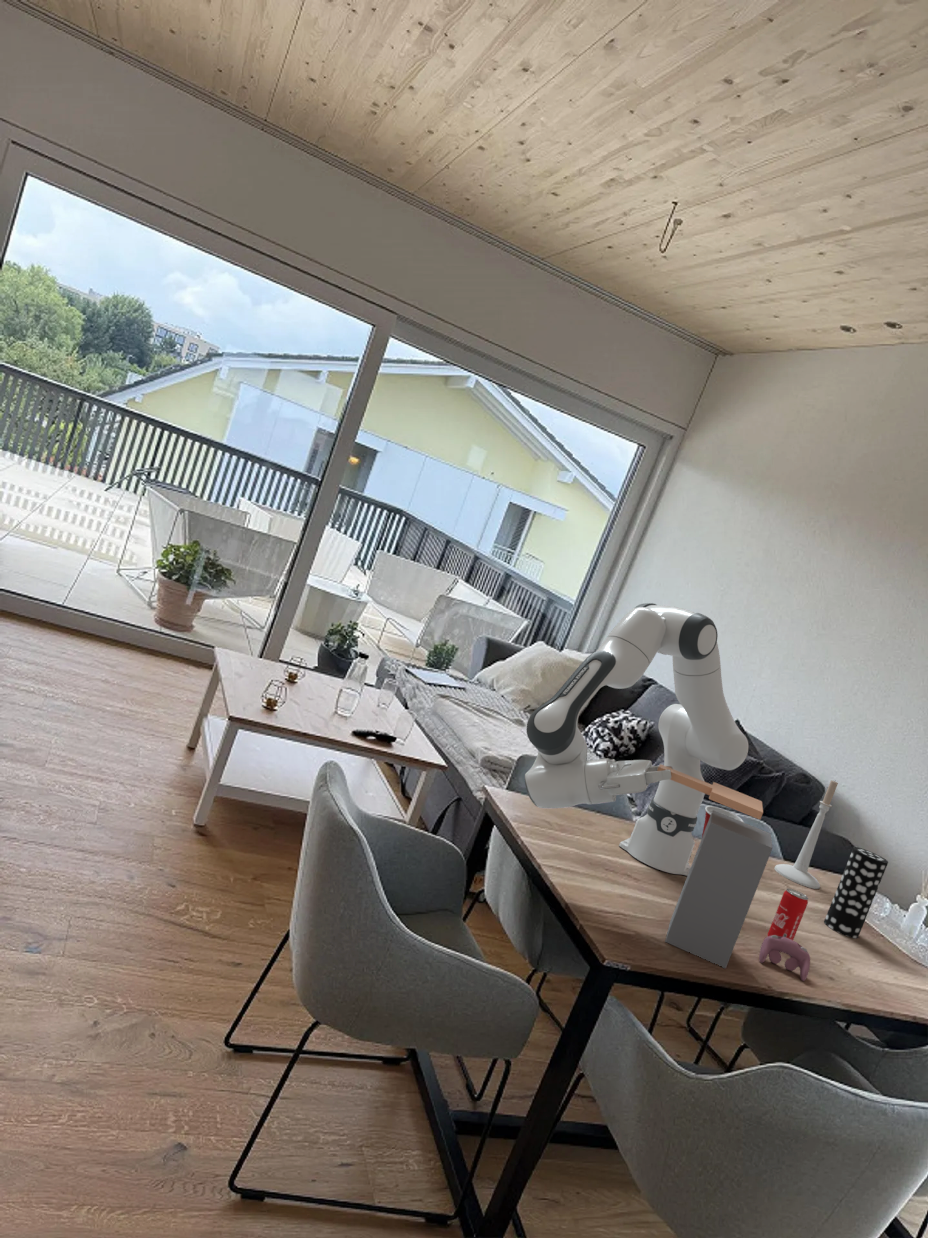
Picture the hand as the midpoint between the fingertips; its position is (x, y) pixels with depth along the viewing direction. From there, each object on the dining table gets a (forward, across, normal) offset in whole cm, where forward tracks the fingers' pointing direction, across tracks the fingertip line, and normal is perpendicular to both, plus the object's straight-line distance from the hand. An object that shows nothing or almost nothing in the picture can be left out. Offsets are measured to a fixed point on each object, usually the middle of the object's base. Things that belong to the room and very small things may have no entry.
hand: (672, 772), depth 191 cm
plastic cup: (-1, +78, +34) cm, 85 cm away
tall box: (-1, 0, +34) cm, 34 cm away
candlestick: (+21, +92, +47) cm, 105 cm away
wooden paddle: (+6, 0, +5) cm, 8 cm away
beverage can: (+14, +23, +43) cm, 50 cm away
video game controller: (+14, +8, +43) cm, 46 cm away
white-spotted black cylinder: (+28, +56, +51) cm, 81 cm away
